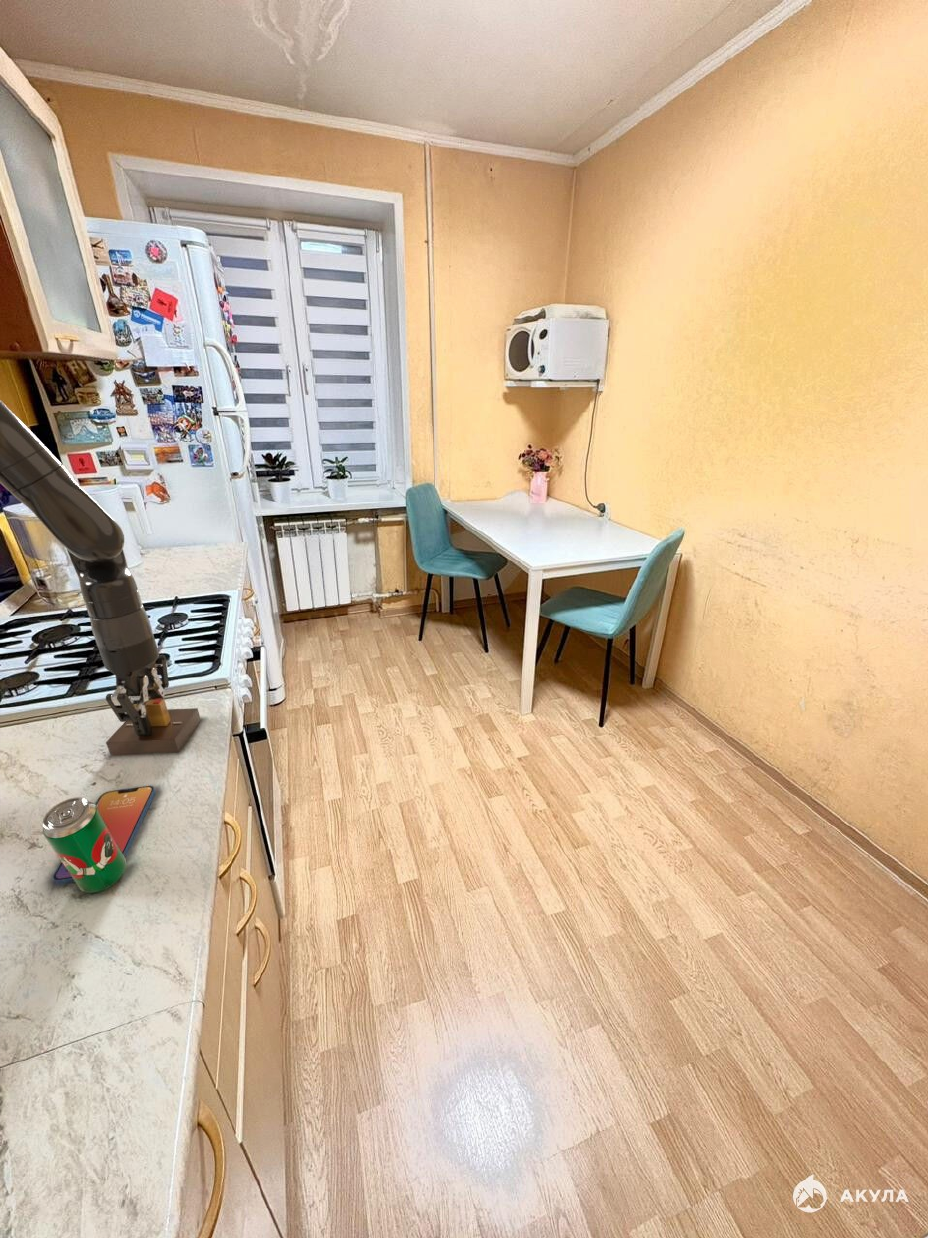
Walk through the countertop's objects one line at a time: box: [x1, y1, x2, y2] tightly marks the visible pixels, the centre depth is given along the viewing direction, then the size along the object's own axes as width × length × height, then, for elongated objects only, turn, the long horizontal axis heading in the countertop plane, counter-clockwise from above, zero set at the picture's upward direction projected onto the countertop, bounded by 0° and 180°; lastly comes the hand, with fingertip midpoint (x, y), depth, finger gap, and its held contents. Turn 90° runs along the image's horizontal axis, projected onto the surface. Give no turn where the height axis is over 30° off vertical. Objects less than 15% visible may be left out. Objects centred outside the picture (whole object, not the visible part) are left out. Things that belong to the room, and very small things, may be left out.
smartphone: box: [52, 785, 156, 885], centre depth 68 cm, size 7×15×1 cm, turn 12°
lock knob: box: [133, 698, 171, 727], centre depth 85 cm, size 5×2×5 cm, turn 94°
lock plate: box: [105, 707, 202, 756], centre depth 86 cm, size 11×9×3 cm
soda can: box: [42, 796, 127, 894], centre depth 59 cm, size 5×5×12 cm
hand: (153, 724), depth 86 cm, fingers closed on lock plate, 4 cm apart
